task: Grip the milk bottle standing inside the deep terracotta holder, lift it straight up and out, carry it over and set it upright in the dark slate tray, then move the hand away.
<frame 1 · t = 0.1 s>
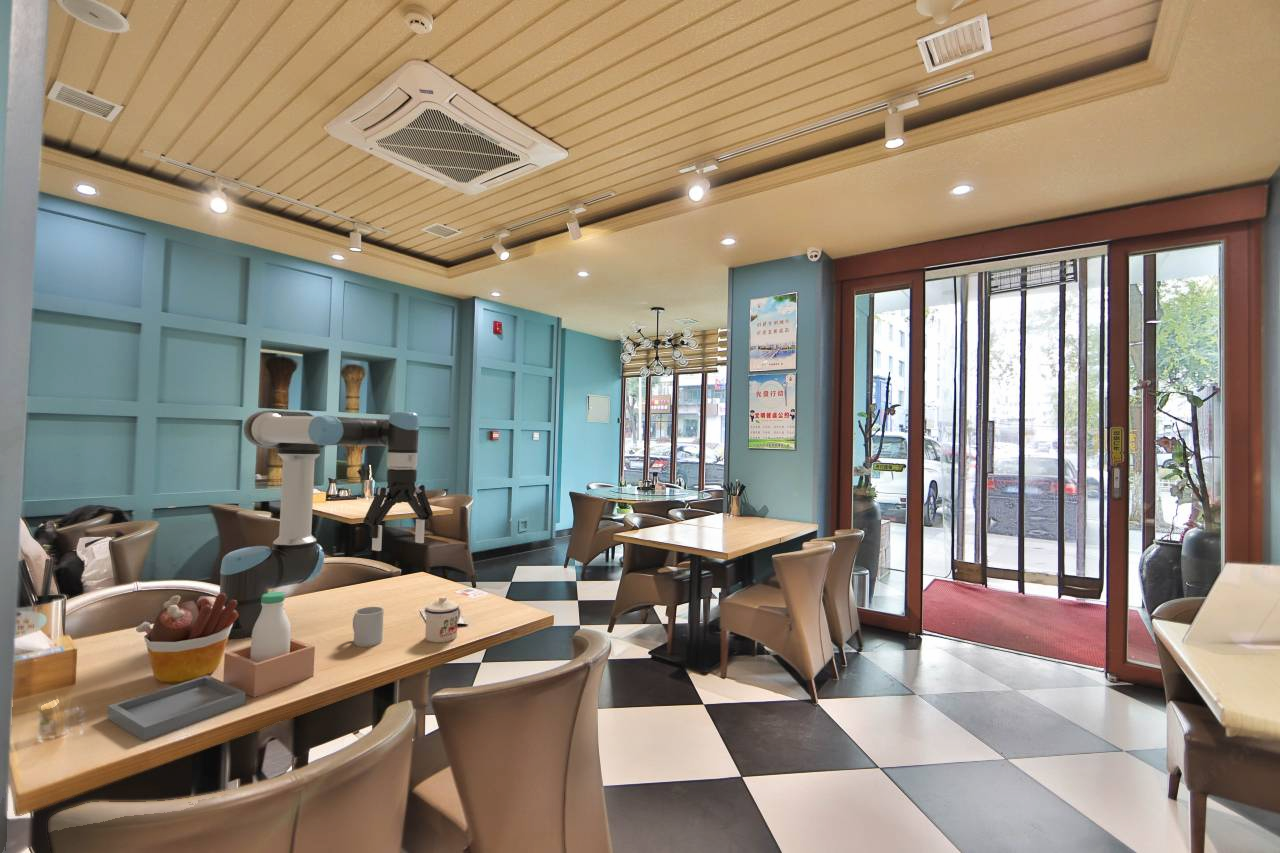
hand: (398, 546, 149), 28 cm above the table, tool pointing down, fingers open, 13 cm apart
cup: (364, 642, 154), on the table
newspaper: (442, 620, 176), on the table
tray: (178, 710, 113), on the table
bucket of meat: (189, 675, 130), on the table
milk bottle: (269, 680, 128), resting in deep holder
teacup with lid: (444, 636, 160), on the table
deep holder: (269, 679, 128), on the table
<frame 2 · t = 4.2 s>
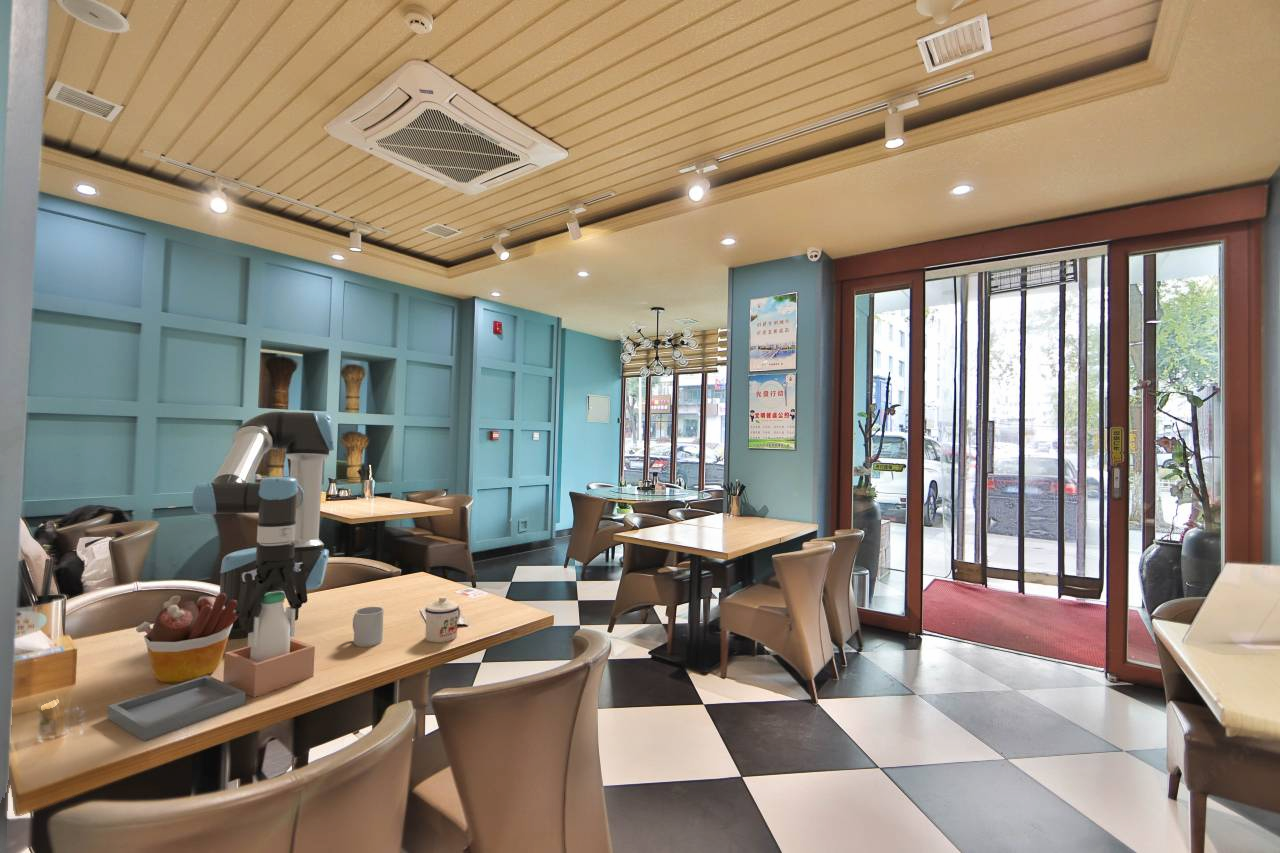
hand: (271, 640, 129), 9 cm above the table, tool pointing down, fingers closed on milk bottle, 7 cm apart
milk bottle: (269, 680, 128), resting in deep holder, touching gripper
everything else where it was.
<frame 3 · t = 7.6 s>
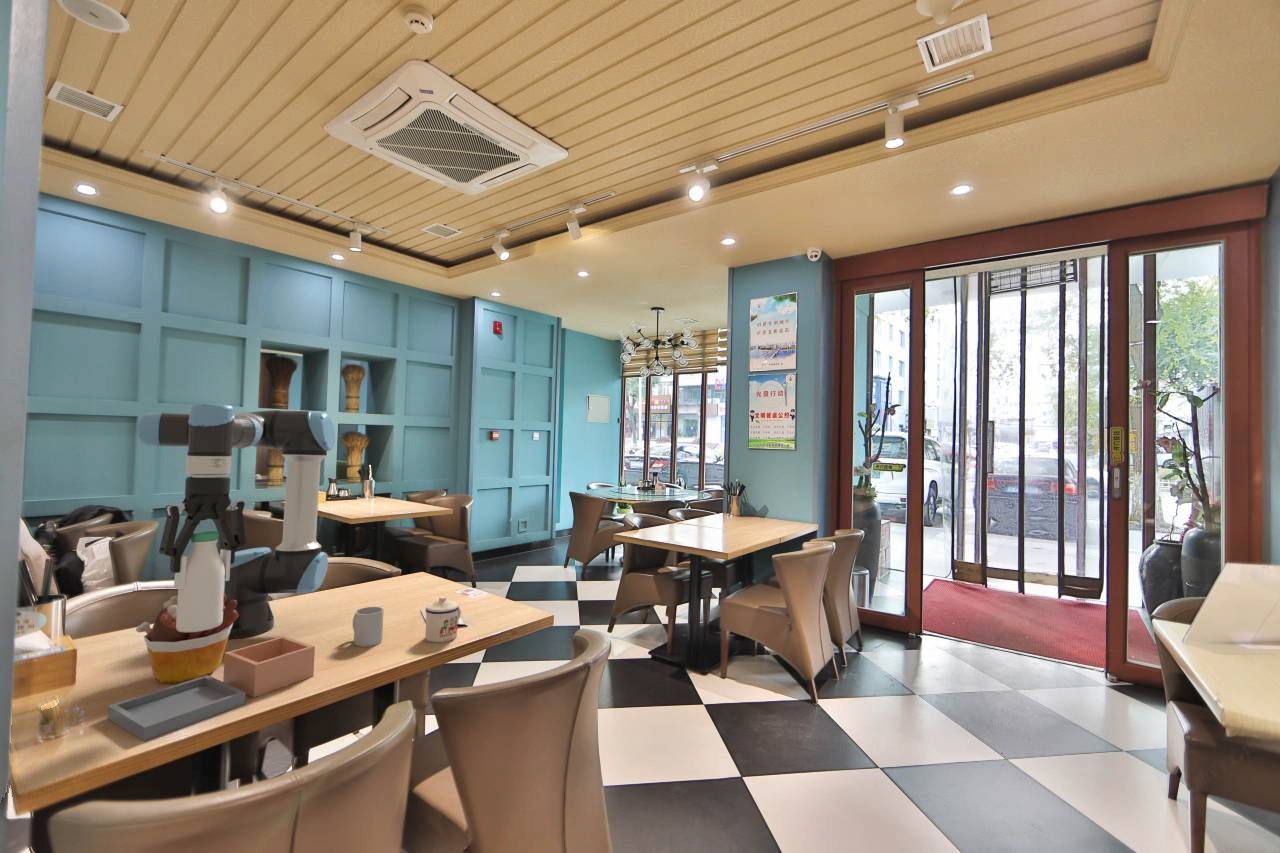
hand: (202, 583, 116), 26 cm above the table, tool pointing down, fingers closed on milk bottle, 7 cm apart
milk bottle: (199, 628, 116), point 16 cm above the table, touching gripper
everything else where it was.
when the fingers open (12 cm above the table, at t = 10.7 s): milk bottle drops 1 cm, resting on tray.
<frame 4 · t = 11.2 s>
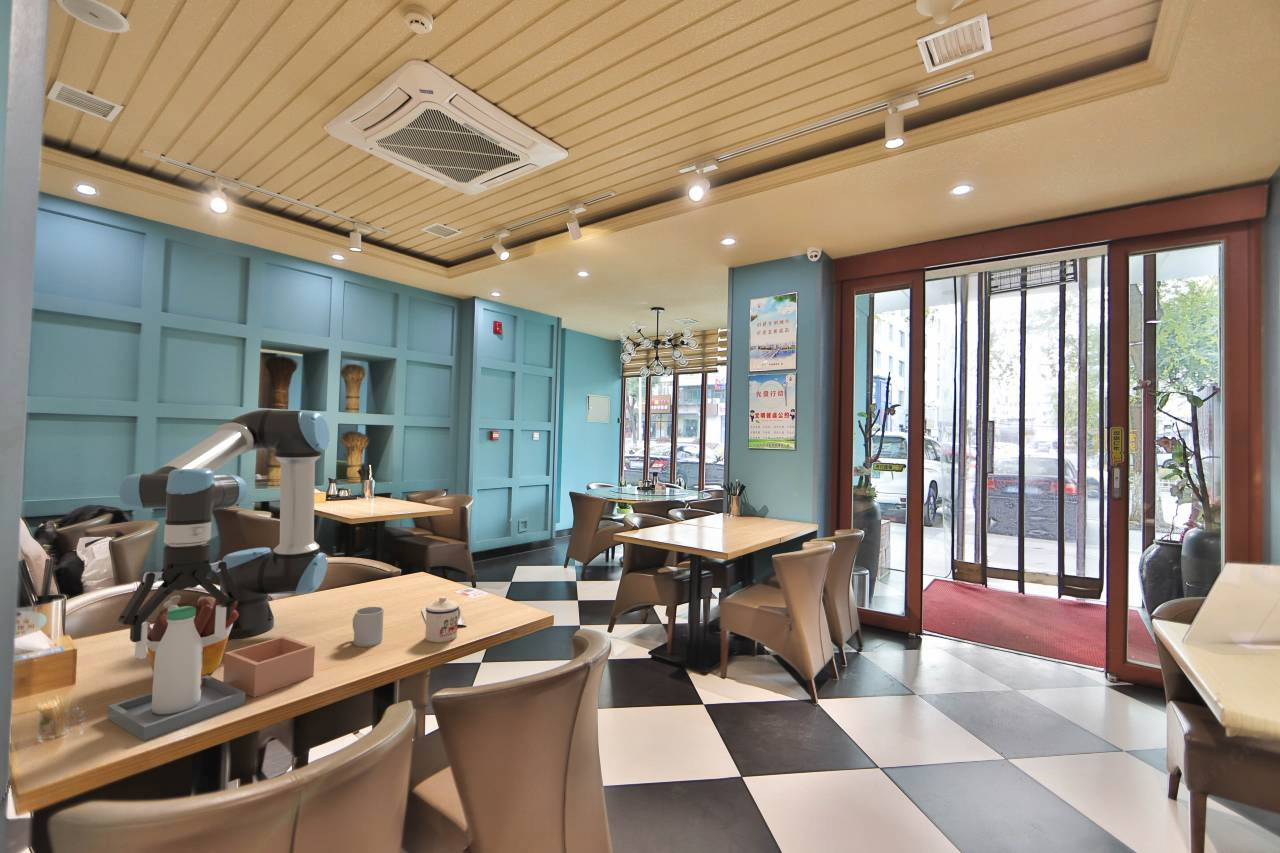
hand: (182, 646, 113), 13 cm above the table, tool pointing down, fingers open, 13 cm apart
milk bottle: (176, 707, 113), point 1 cm above the table, touching tray
everything else where it was.
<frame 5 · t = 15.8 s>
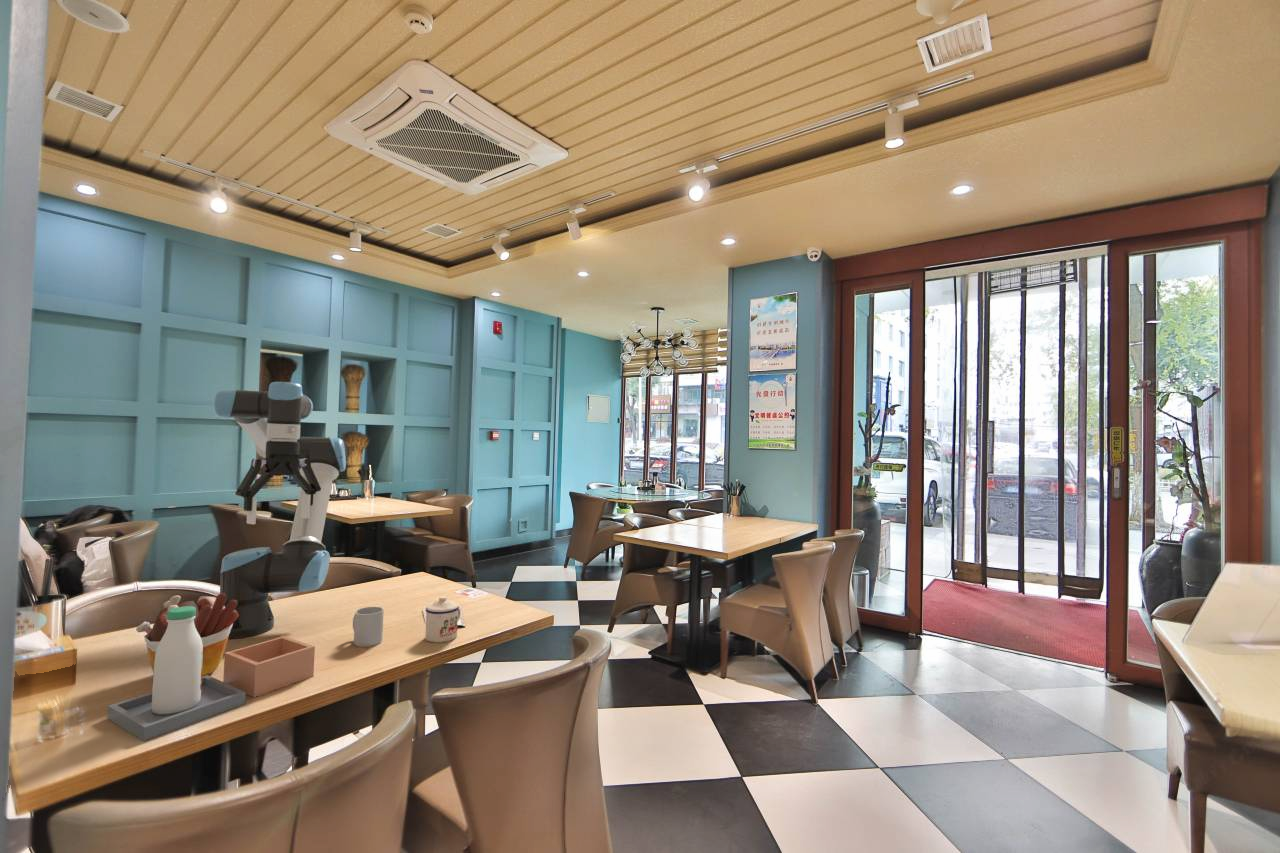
hand: (279, 520, 145), 35 cm above the table, tool pointing down, fingers open, 13 cm apart
nothing on the table moved.
at the end: milk bottle inside the target area on the tray (0.4 cm from its centre), point 0.8 cm above the tray's base; milk bottle tilted 0°; the gripper is holding nothing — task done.
